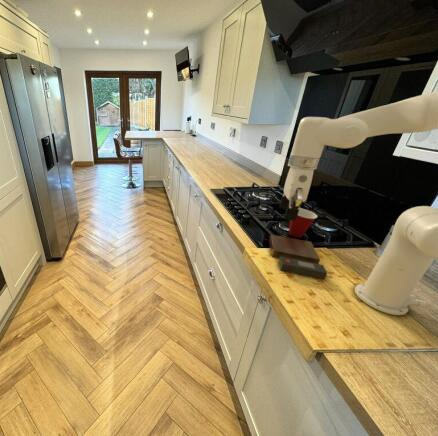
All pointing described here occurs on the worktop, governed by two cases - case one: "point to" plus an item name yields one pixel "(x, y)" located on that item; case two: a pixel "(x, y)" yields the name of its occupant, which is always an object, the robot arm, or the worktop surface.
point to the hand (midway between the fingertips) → (286, 213)
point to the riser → (293, 249)
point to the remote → (302, 268)
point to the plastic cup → (301, 222)
